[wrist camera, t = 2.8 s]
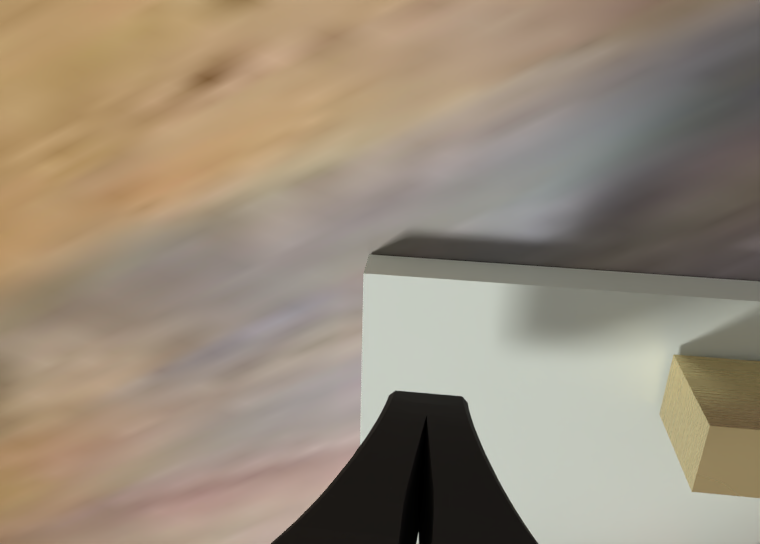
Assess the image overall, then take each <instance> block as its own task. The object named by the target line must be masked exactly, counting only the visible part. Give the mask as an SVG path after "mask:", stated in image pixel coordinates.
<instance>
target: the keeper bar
mask: <svg viewBox="0 0 760 544" xmlns="http://www.w3.org/2000/svg"><path fill="white" fill-rule="evenodd" d="M659 415H660V417H661V419H662V422H663V424H664V427H665V429H666V431H667V434H668V436H669V439H670V441H671V443H672V446H673V448H674V451H675V453H676V455H677V458H678V460H679V463H680V465H681V467H682V470H683V472H684V475H685V477H686V479H687V482H688V484H689V487H690V489H691V491H692V492H699V493H709V494H720V495H730V496H741V497H752V498H760V361H750V360H738V359H725V358H712V357H699V356H686V355H674V354H673V359H672V363H671V367H670V371H669V376H668V380H667V384H666V388H665V392H664V397H663V401H662V405H661V409H660V413H659Z"/></svg>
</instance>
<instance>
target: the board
mask: <svg viewBox="0 0 760 544" xmlns="http://www.w3.org/2000/svg"><path fill="white" fill-rule="evenodd" d="M673 354H674V355H686V356H699V357H712V358H725V359H738V360H750V361H760V281H746V280H732V279H717V278H703V277H689V276H674V275H660V274H645V273H631V272H616V271H602V270H587V269H573V268H558V267H544V266H529V265H515V264H500V263H486V262H471V261H457V260H442V259H428V258H413V257H399V256H384V255H370V254H369V257H368V261H367V264H366V267H365V270H364V279H363V327H362V376H361V424H360V445H361V444H362V442H363V441H364V439H365V438H366V437H367V435H368V434H369V432H370V430H371V429H372V427H373V426H374V424H375V422H376V421H377V419H378V417H379V415H380V414H381V412H382V410H383V408H384V406H385V404H386V402H387V399H388V397H389V395H390V394H391V393H393V392H394V391H395V390H396V391H407V392H419V393H430V394H442V395H453V396H462V397H463V398H464V399H465V400H466V401H467V402H468V407H469V411H470V415H471V418H472V421H473V424H474V427H475V430H476V432H477V435H478V437H479V440H480V442H481V445H482V447H483V449H484V451H485V454H486V456H487V458H488V460H489V462H490V464H491V466H492V468H493V470H494V472H495V474H496V476H497V478H498V480H499V482H500V483H501V485H502V487H503V489H504V491H505V493H506V494H507V496H508V498H509V499H510V501H511V503H512V504H513V506H514V508H515V510H516V511H517V513H518V514H519V516H520V517H521V519H522V521H523V522H524V524H525V525H526V527H527V528H528V530H529V531H530V533H531V534H532V535H533V537H534V538H535V540H536V541H537V542H538V544H760V498H752V497H741V496H730V495H720V494H709V493H699V492H692V491H691V489H690V487H689V484H688V482H687V479H686V477H685V475H684V472H683V470H682V467H681V465H680V463H679V460H678V458H677V455H676V453H675V451H674V448H673V446H672V443H671V441H670V439H669V436H668V434H667V431H666V429H665V427H664V424H663V422H662V419H661V417H660V415H659V413H660V409H661V405H662V401H663V397H664V392H665V388H666V384H667V380H668V376H669V371H670V367H671V363H672V359H673ZM416 544H419V532H418V538H417V543H416Z"/></svg>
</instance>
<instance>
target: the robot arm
mask: <svg viewBox="0 0 760 544" xmlns="http://www.w3.org/2000/svg"><path fill="white" fill-rule="evenodd" d="M418 532H419V544H538V542H537V541H536V540H535V538H534V537H533V535H532V534H531V533H530V531H529V530H528V528H527V527H526V525H525V524H524V522H523V521H522V519H521V517H520V516H519V514H518V513H517V511H516V510H515V508H514V506H513V504H512V503H511V501H510V499H509V498H508V496H507V494H506V493H505V491H504V489H503V487H502V485H501V483H500V482H499V480H498V478H497V476H496V474H495V472H494V470H493V468H492V466H491V464H490V462H489V460H488V458H487V456H486V454H485V451H484V449H483V447H482V445H481V442H480V440H479V437H478V435H477V432H476V430H475V427H474V424H473V421H472V418H471V415H470V411H469V407H468V402H467V401H466V400H465V399H464V398H463V397H462V396H453V395H442V394H430V393H419V392H407V391H396V390H395V391H394V392H393V393H391V394H390V395H389V397H388V399H387V402H386V404H385V406H384V408H383V410H382V412H381V414H380V415H379V417H378V419H377V421H376V422H375V424H374V426H373V427H372V429H371V430H370V432H369V434H368V435H367V437H366V438H365V439H364V441H363V442H362V444H361V445H360V447H359V448H358V449H357V451H356V452H355V454H354V455H353V457H352V458H351V459H350V461H349V462H348V463H347V465H346V466H345V467H344V468H343V469H342V471H341V472H340V473H339V474H338V476H337V477H336V478H335V479H334V480H333V482H332V483H331V484H330V485H329V487H328V488H327V489H326V490H325V491H324V492H323V493H322V495H321V496H320V497H319V498H318V499H317V500H316V501H315V502H314V503H313V504H312V505H311V506H310V507H309V508H308V509H307V510H306V511H305V512H304V513H303V514H302V515H301V516H300V517H299V518H298V519H297V520H296V521H295V522H294V523H293V524H292V525H291V526H290V527H289V528H288V529H287V530H286V531H284V532H283V533H282V534H281V535H280V536H279V537H278V538H277V539H275V540H274V541H273V542H272V543H271V544H416V543H417V538H418Z"/></svg>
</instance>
